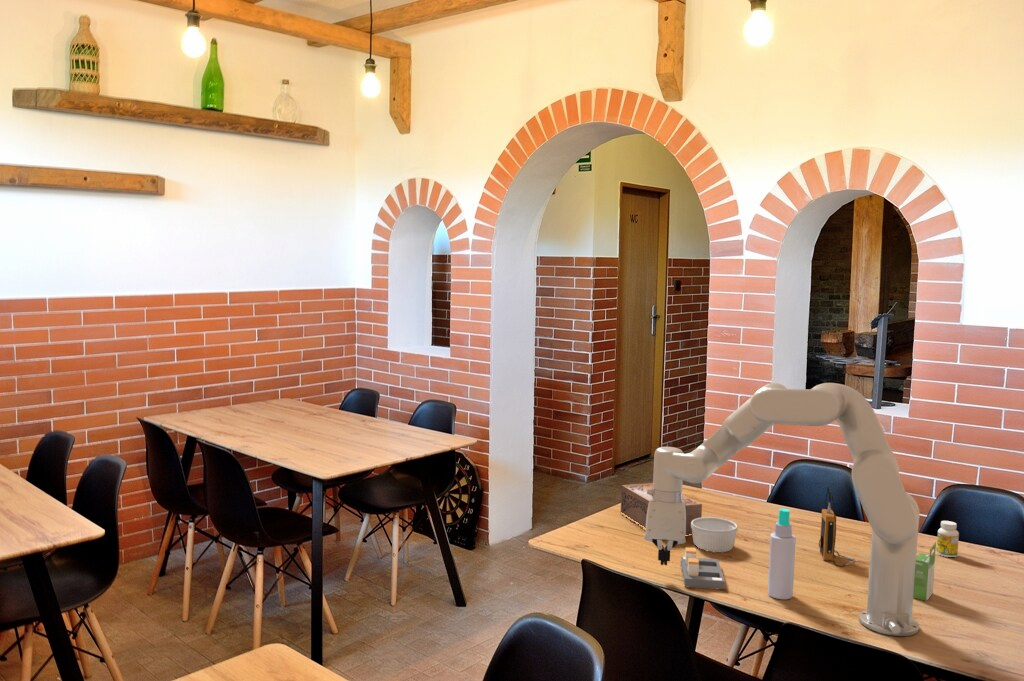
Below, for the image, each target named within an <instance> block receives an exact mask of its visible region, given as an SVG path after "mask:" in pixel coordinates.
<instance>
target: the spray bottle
mask: <svg viewBox="0 0 1024 681" xmlns="http://www.w3.org/2000/svg"><path fill="white" fill-rule="evenodd" d="M790 513H791V512H790V509H787V508H779V510H778V521H776V522H775V527H774V532H772V533H770V537H769V554H768V555H769V557H768V572H767V573H768V574H767V575H768V576H767V594H768V596H770V597H771V598H773V599H776V600H790V599H792V598H793V596H794V577H795V563H796V562H795V561H796V559H795V558H796V542H797V537H796V536H795V535H794V534H792V532H793V531H792V530H793V525H792V523H790Z"/></svg>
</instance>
